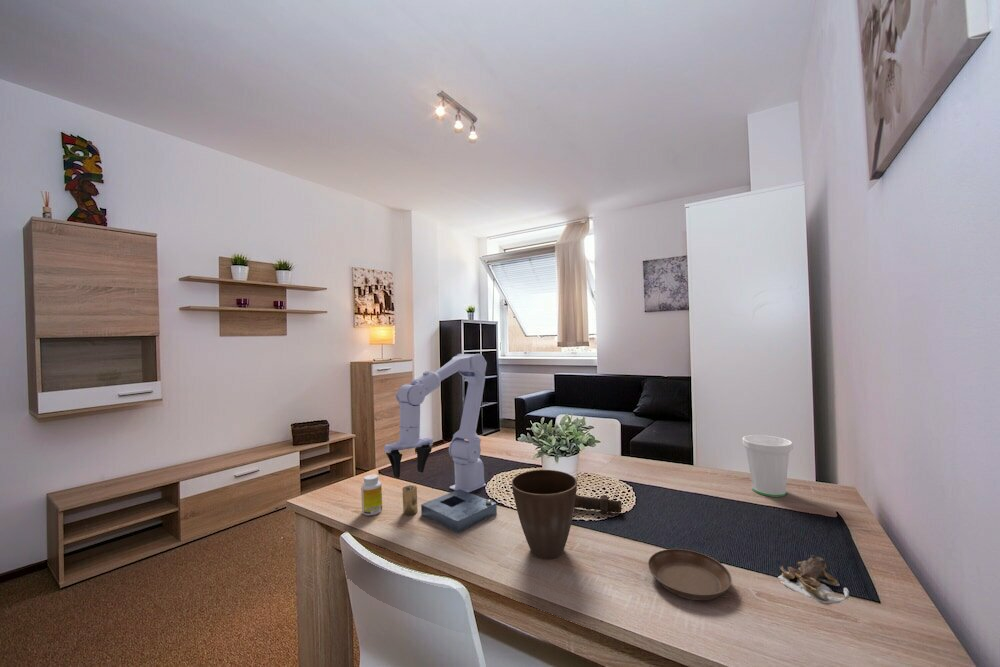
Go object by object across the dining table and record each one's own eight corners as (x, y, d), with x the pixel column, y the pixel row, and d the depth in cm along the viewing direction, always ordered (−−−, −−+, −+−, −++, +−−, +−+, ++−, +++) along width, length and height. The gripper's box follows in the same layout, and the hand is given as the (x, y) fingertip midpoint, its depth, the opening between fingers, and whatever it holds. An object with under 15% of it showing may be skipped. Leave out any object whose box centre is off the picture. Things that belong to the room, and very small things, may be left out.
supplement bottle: (385, 512, 114) (384, 476, 114) (366, 518, 111) (365, 481, 111) (377, 506, 119) (376, 472, 119) (359, 511, 115) (358, 476, 115)
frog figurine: (788, 559, 85) (787, 541, 85) (861, 588, 74) (860, 568, 74) (760, 577, 79) (760, 558, 79) (835, 612, 68) (834, 590, 69)
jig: (459, 498, 122) (459, 486, 122) (496, 513, 110) (496, 500, 110) (421, 515, 112) (420, 501, 112) (458, 533, 100) (457, 518, 100)
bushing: (412, 508, 116) (411, 484, 116) (420, 511, 114) (419, 487, 114) (400, 512, 114) (399, 488, 114) (408, 516, 111) (407, 491, 111)
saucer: (693, 619, 68) (692, 603, 68) (632, 573, 82) (632, 559, 82) (750, 593, 74) (749, 578, 74) (684, 554, 88) (684, 542, 88)
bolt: (621, 522, 107) (565, 514, 112) (621, 506, 111) (568, 499, 116) (621, 508, 104) (563, 500, 109) (621, 492, 108) (566, 485, 113)
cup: (746, 480, 127) (744, 432, 127) (794, 488, 120) (792, 437, 120) (742, 494, 117) (740, 442, 117) (795, 503, 109) (792, 448, 109)
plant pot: (573, 575, 81) (570, 497, 81) (505, 563, 86) (502, 490, 86) (584, 538, 95) (581, 472, 95) (524, 530, 100) (522, 467, 100)
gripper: (393, 431, 107) (392, 482, 106) (438, 425, 116) (437, 472, 116) (381, 427, 112) (380, 476, 111) (425, 422, 121) (425, 467, 121)
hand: (408, 474), depth 114 cm, fingers open, 7 cm apart
